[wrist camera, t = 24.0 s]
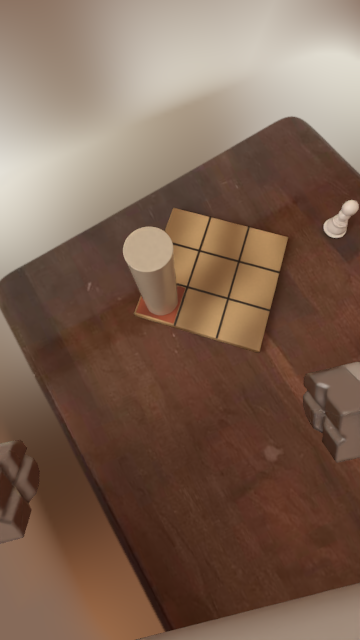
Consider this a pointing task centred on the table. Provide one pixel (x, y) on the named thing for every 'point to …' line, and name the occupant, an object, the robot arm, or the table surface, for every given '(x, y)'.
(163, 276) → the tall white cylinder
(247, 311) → the board
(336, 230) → the chess pawn
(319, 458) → the table surface
